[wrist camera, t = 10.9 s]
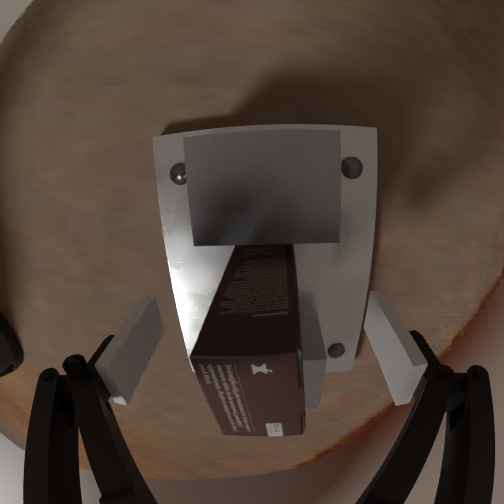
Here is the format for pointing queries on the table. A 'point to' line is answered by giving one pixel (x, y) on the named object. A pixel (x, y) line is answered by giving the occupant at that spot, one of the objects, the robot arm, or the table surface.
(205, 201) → the wall mount bracket
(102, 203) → the table surface
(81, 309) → the table surface
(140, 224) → the table surface
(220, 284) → the box
